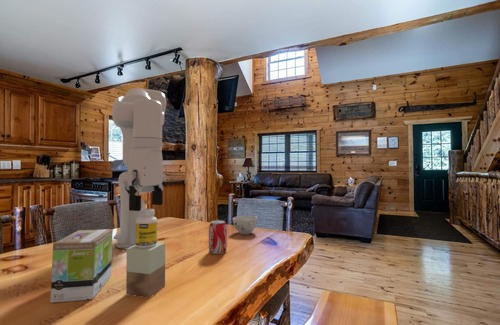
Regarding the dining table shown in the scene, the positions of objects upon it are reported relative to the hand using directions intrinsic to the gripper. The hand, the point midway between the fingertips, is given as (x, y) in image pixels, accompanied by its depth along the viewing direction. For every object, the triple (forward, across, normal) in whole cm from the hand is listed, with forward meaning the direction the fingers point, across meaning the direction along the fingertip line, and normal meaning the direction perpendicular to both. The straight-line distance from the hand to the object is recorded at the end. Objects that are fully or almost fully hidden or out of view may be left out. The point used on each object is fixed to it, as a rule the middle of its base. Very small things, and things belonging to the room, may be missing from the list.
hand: (146, 207), depth 73 cm
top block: (+16, +1, +1) cm, 16 cm away
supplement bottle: (+10, +1, 0) cm, 10 cm away
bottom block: (+22, +1, +1) cm, 22 cm away
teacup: (+24, -65, +11) cm, 70 cm away
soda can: (+23, -34, +8) cm, 42 cm away
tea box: (+23, +4, -16) cm, 28 cm away
